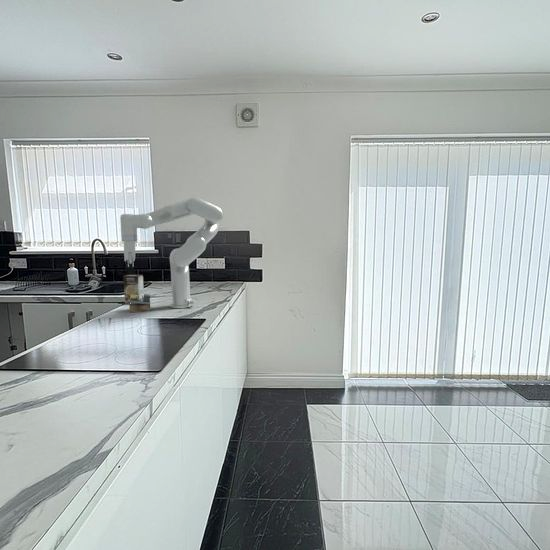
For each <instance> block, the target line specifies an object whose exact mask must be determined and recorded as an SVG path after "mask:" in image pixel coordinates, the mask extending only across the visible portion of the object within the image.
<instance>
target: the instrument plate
mask: <svg viewBox="0 0 550 550" xmlns="http://www.w3.org/2000/svg"><path fill="white" fill-rule="evenodd" d="M130 302H131V303H141V304H150V305H151V295H150V294H145V293H144V297H143V299H141V298H140V297H138V295H136V294H131V296H130Z"/></svg>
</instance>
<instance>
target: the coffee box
mask: <svg viewBox="0 0 550 550" xmlns="http://www.w3.org/2000/svg"><path fill="white" fill-rule="evenodd" d="M143 275H144V274H134V275H128V274H126V275H123V278H122V279H123V293H124V294H123V295H124V296H123V297H124V304H126V305H128V304H129V305H130V303H131V302H130V296H131V294H136V295H138V297H140V298H141V299H143V297H144V294H145V291H144V289H145V287H144V276H143ZM131 304H132V303H131Z"/></svg>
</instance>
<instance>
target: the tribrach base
mask: <svg viewBox="0 0 550 550" xmlns="http://www.w3.org/2000/svg"><path fill="white" fill-rule="evenodd" d="M151 309H152V308H151V303H150V304H141V303H132V304H129V313H138V312H139V313H140V312H149V310H151ZM151 311H152V310H151Z"/></svg>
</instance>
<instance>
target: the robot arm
mask: <svg viewBox="0 0 550 550" xmlns="http://www.w3.org/2000/svg"><path fill="white" fill-rule="evenodd" d="M193 215H196V216H198V217H200V218H203V219H204V223H203V225H202V226H201V227H200V228H199V229H198V230H196V232H194V233H192V235H190V236H189V237H188V238H187V239H186V241H185V243H184V244H182V245H181V246H180V247H178V248H174V249H172V251H171V252H170V254H169V264H170V278H171V281H170V284H171V297H172V299H171V300H172V302H171V303H170V304H169V307H170V309H186V308H191V307H193V306H194V305H196V304H197V300H196V299H193V297H191V286H190V285H191V284H190V267H189V266H190V264H191V263H192V262H194V261H195V260H196V259H197V258H199V256H200V255H202V254H203V252H204V251H206V248H207V244H209V243H210V241H211V240H213V239H214V238H215V236H216V235H217V233H218V232H219V230H220V222H221V221H223V220H222V219H223V217H224V213H223V210H222V208H220V207H218V206H216V205H214V204H212V203H210V202H208V201H206V200H204V199H201V198H200V197H198V196H197V197H196V196H193V197H190V198H188V199H185V200H181V201H177V202H174V203H171V204H168V205H165V206H163V207H162V208H159V209H156V210H153V211H150V212H147V213H140V214H133V213H130V214H129V213H122V214H121V215H120V219H119V220H120V236H121V237H120V238H121V242H123V256H124V262H127V275H136V274H135V273H136V272H135V266H134V264H135V263H134V261H135V260H136V242H138V229H144V230H148V229H150V228H152V227H155V226H159V225H163V224H166V223H171V222H175V221H177V220H178V221H179V220H181V219H184V218H188V217H189V216H193Z"/></svg>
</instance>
